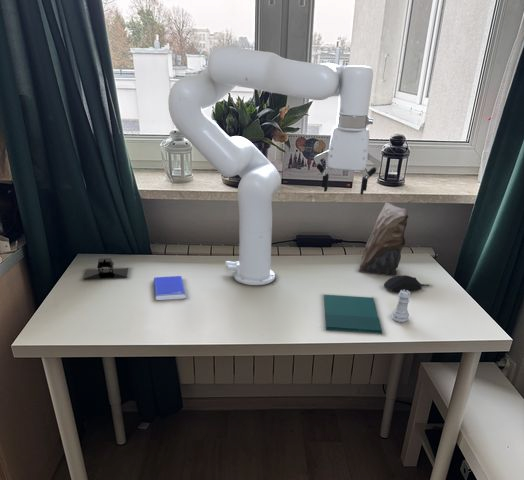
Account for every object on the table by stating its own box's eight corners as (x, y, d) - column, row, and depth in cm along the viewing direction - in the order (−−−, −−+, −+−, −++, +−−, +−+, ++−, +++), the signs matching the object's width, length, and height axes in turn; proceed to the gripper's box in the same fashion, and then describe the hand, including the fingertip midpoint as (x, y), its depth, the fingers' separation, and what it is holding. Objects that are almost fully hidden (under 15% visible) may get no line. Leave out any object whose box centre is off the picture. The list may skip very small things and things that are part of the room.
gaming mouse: (434, 290, 151) (437, 277, 149) (389, 294, 148) (392, 282, 146) (423, 281, 157) (425, 269, 154) (379, 285, 153) (381, 273, 151)
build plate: (84, 280, 150) (81, 265, 147) (87, 270, 156) (84, 256, 153) (127, 277, 152) (125, 263, 149) (128, 268, 158) (126, 254, 155)
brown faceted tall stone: (370, 258, 171) (380, 199, 161) (407, 267, 166) (419, 206, 156) (356, 270, 162) (365, 208, 152) (395, 280, 157) (407, 216, 146)
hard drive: (185, 293, 140) (181, 275, 151) (155, 295, 139) (153, 277, 149) (185, 298, 141) (181, 280, 151) (155, 300, 140) (154, 282, 150)
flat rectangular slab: (326, 329, 129) (326, 327, 128) (324, 295, 146) (324, 293, 145) (381, 333, 128) (382, 330, 127) (373, 298, 145) (373, 296, 144)
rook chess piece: (408, 323, 133) (414, 296, 128) (391, 321, 133) (396, 294, 129) (408, 316, 136) (413, 289, 132) (391, 314, 137) (396, 287, 133)
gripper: (386, 122, 128) (376, 190, 137) (318, 118, 131) (312, 185, 140) (387, 126, 122) (376, 198, 131) (315, 122, 124) (310, 192, 133)
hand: (343, 191), depth 135 cm, fingers open, 9 cm apart
